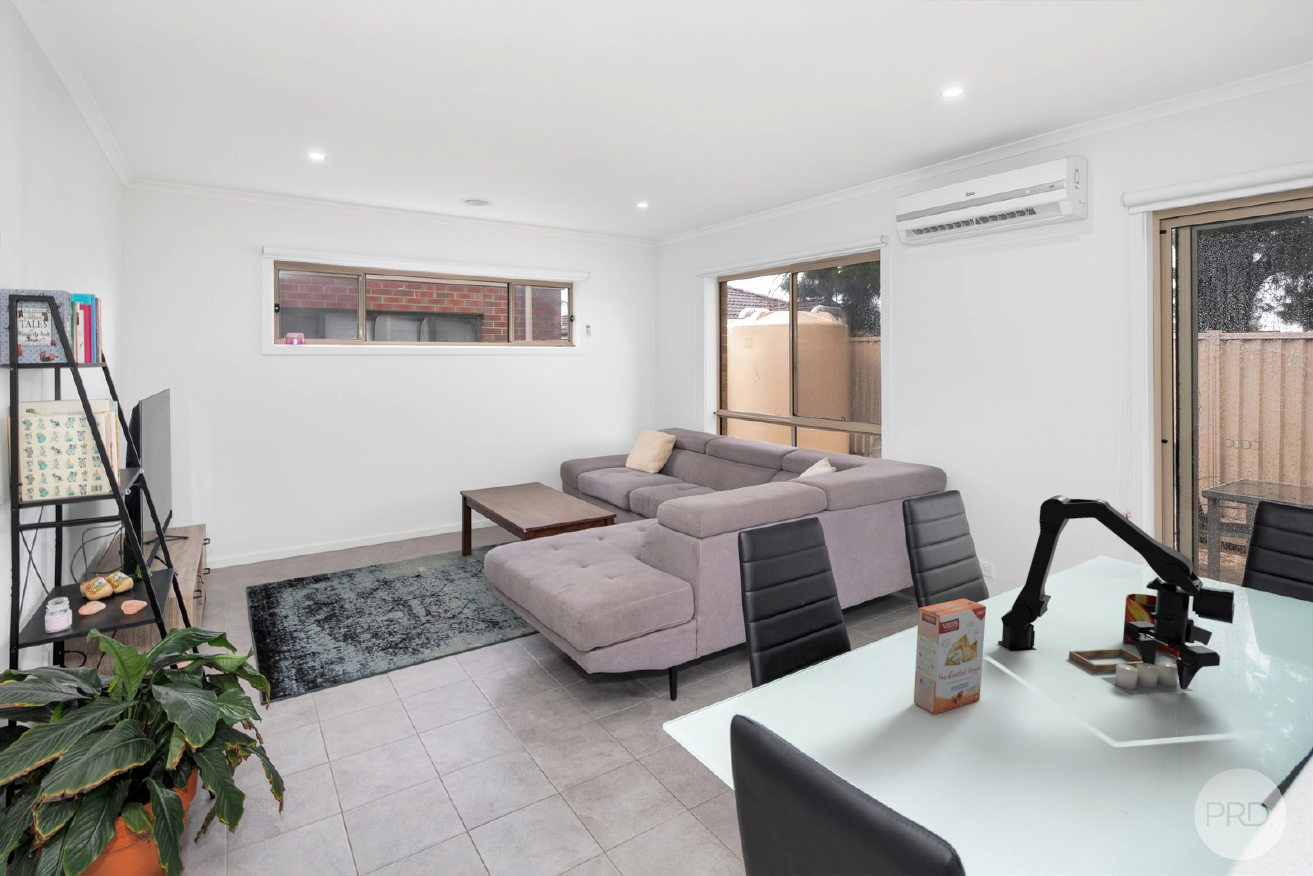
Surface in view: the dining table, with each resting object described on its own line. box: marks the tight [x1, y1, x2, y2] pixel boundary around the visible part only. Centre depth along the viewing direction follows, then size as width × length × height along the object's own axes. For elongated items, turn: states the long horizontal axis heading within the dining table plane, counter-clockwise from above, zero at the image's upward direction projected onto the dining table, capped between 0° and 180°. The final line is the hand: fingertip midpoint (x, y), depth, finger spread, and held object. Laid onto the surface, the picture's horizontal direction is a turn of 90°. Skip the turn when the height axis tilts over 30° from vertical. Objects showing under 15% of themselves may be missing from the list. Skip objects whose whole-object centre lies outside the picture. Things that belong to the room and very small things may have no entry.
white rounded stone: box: [1115, 664, 1138, 689], centre depth 149 cm, size 4×4×4 cm
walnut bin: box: [1068, 647, 1143, 674], centre depth 160 cm, size 14×8×2 cm, turn 98°
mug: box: [1122, 593, 1180, 659], centre depth 170 cm, size 10×14×12 cm
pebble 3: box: [1156, 661, 1179, 686], centre depth 150 cm, size 4×4×4 cm
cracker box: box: [913, 597, 987, 715], centre depth 142 cm, size 14×6×21 cm, turn 117°
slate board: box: [1101, 676, 1193, 696], centre depth 150 cm, size 15×8×1 cm, turn 98°
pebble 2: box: [1137, 663, 1158, 688], centre depth 149 cm, size 4×4×4 cm
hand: (1166, 680), depth 150 cm, fingers open, 8 cm apart
